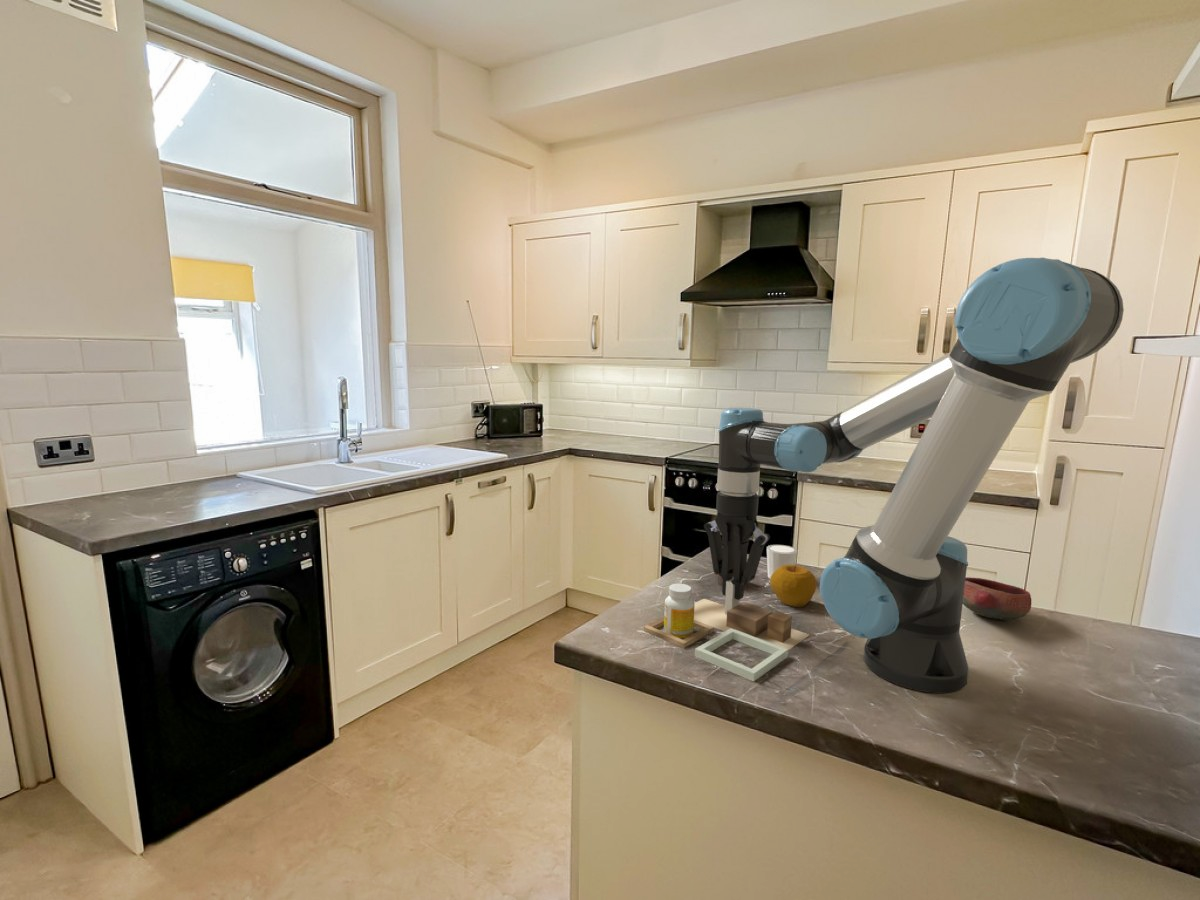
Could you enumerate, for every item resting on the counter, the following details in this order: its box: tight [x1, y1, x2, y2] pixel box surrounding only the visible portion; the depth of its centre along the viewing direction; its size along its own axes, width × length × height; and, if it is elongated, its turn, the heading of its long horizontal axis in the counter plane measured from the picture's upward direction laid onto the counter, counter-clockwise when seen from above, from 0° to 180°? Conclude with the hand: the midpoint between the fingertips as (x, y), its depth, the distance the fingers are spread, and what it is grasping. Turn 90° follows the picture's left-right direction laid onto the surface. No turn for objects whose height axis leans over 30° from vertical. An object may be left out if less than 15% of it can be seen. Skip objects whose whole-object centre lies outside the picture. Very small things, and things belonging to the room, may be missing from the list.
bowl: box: [962, 576, 1032, 621], centre depth 116 cm, size 16×13×8 cm
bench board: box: [694, 598, 811, 651], centre depth 111 cm, size 23×10×5 cm, turn 45°
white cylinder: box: [766, 544, 798, 579], centre depth 138 cm, size 7×7×7 cm
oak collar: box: [643, 616, 715, 649], centre depth 107 cm, size 9×9×2 cm
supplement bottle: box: [663, 583, 695, 639], centre depth 107 cm, size 5×5×10 cm
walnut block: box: [726, 601, 774, 637], centre depth 109 cm, size 6×6×3 cm
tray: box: [694, 628, 789, 682], centre depth 98 cm, size 11×11×2 cm
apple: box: [769, 564, 817, 608], centre depth 121 cm, size 9×9×9 cm
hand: (731, 613), depth 112 cm, fingers closed
